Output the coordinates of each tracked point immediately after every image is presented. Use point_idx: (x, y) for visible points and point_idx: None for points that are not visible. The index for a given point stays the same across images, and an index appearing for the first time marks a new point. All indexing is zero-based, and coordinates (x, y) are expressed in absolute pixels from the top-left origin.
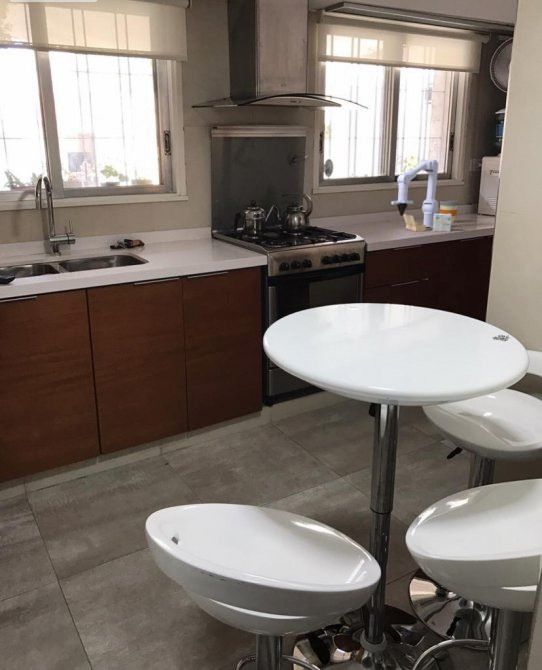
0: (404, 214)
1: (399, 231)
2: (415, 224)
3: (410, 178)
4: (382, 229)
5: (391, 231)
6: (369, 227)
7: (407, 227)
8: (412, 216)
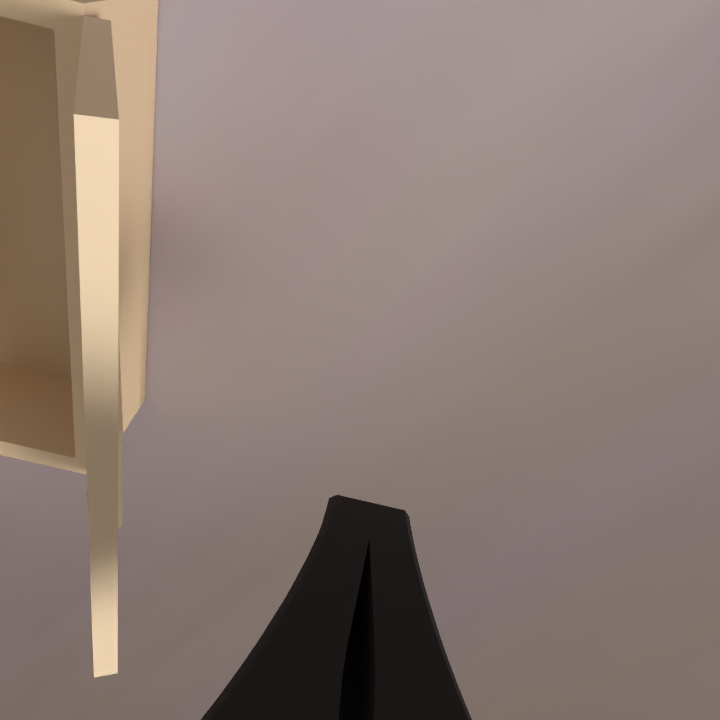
0: (106, 629)
1: (467, 246)
2: (98, 26)
3: None
4: (529, 546)
5: (604, 330)
6: (524, 709)
7: (131, 377)
8: (113, 128)
